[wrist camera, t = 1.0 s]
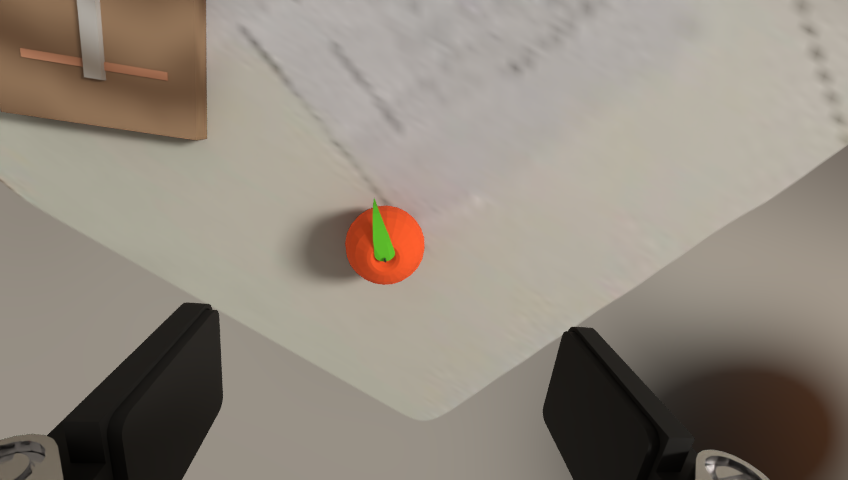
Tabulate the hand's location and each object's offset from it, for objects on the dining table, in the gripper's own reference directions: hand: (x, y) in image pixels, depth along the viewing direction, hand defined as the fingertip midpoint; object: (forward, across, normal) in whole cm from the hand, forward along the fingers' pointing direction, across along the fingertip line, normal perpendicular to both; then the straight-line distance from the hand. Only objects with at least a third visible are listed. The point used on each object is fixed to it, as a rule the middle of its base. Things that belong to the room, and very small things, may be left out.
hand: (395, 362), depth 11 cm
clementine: (+27, 0, +5) cm, 28 cm away
